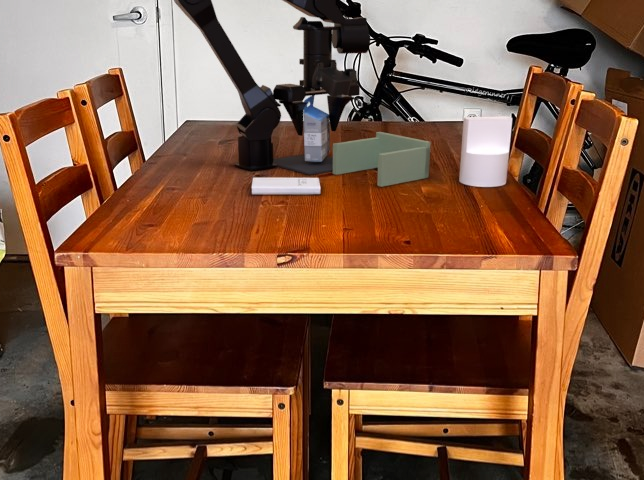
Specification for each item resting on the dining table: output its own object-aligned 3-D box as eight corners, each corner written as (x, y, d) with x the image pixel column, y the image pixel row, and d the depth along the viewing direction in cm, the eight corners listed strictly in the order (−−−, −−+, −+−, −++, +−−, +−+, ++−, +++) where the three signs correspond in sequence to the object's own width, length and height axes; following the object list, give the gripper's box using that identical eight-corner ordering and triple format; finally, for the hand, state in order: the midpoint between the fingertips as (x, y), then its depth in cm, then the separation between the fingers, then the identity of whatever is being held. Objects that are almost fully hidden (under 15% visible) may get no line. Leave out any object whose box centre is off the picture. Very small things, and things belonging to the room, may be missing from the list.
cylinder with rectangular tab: (496, 175, 162) (502, 113, 157) (513, 186, 154) (519, 121, 149) (453, 177, 161) (457, 114, 156) (467, 187, 153) (472, 122, 148)
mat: (309, 175, 162) (309, 173, 162) (262, 162, 174) (262, 160, 174) (361, 166, 170) (361, 164, 170) (314, 154, 182) (314, 152, 182)
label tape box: (321, 162, 168) (322, 100, 163) (302, 161, 169) (303, 99, 164) (330, 153, 176) (331, 94, 171) (311, 152, 177) (312, 94, 172)
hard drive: (253, 185, 155) (318, 185, 155) (251, 195, 147) (320, 195, 148) (252, 176, 154) (318, 176, 154) (251, 186, 146) (320, 186, 147)
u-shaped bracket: (381, 186, 153) (382, 149, 151) (332, 173, 164) (332, 138, 161) (428, 177, 161) (430, 141, 158) (379, 165, 171) (380, 131, 168)
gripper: (305, 59, 153) (305, 143, 159) (378, 54, 163) (376, 134, 170) (270, 55, 161) (272, 135, 167) (342, 51, 171) (341, 127, 178)
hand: (317, 133), depth 170 cm, fingers closed on label tape box, 8 cm apart
